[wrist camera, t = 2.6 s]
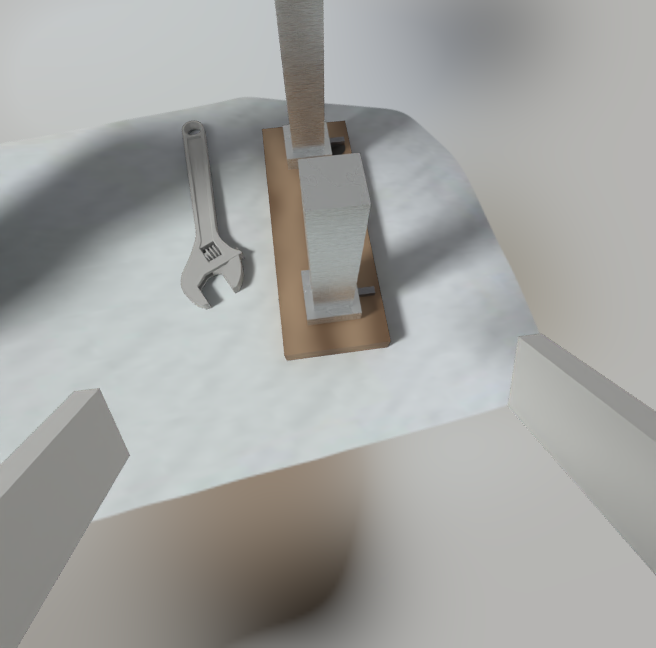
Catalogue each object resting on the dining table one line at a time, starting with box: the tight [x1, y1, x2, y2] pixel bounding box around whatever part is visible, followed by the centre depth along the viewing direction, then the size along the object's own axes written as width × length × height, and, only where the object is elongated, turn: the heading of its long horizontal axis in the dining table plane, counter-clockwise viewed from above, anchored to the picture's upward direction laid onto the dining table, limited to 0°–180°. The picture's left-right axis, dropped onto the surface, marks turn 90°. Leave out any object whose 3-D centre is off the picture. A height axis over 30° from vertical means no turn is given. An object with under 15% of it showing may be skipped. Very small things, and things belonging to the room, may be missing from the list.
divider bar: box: [262, 121, 391, 361], centre depth 38 cm, size 10×28×2 cm, turn 8°
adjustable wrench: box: [181, 121, 244, 309], centre depth 39 cm, size 25×6×2 cm, turn 9°
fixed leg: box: [275, 0, 345, 170], centre depth 32 cm, size 7×5×16 cm
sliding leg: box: [298, 153, 375, 325], centre depth 26 cm, size 7×5×16 cm
